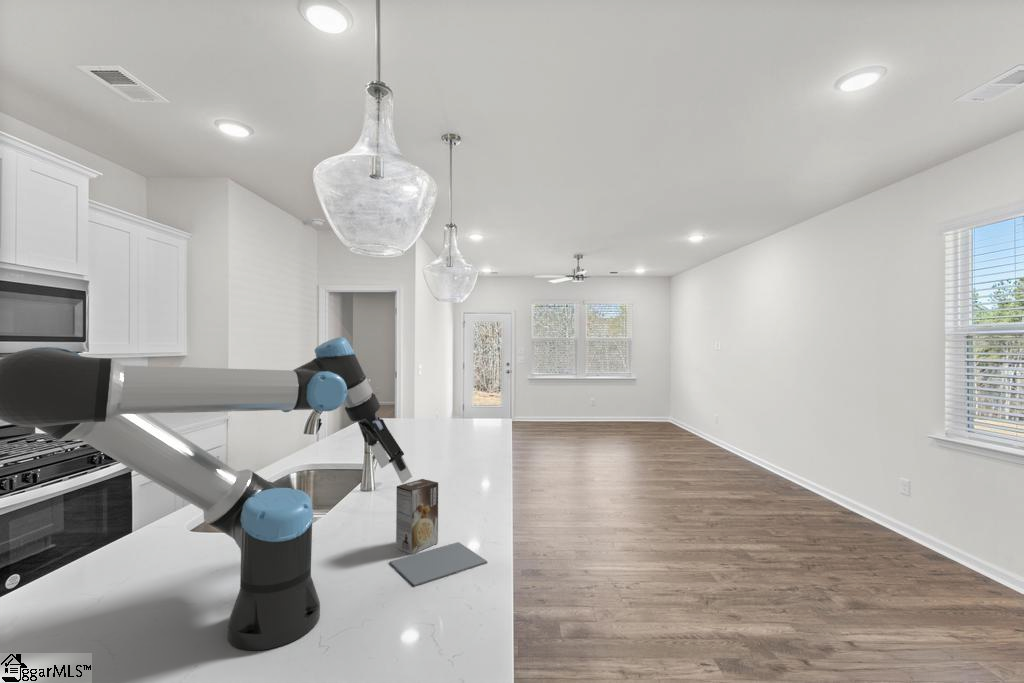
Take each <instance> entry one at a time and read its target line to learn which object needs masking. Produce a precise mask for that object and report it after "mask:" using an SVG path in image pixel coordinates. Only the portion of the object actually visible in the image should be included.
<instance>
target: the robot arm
mask: <svg viewBox="0 0 1024 683" xmlns="http://www.w3.org/2000/svg"><path fill="white" fill-rule="evenodd" d="M350 344H351V343H349V341H348V339H347V338H345V337H342V336H341V337H335V338H331V339H330V340H327V341H325V342H323V343H321V344H319V345H318V346H316V347H315V348H314V353H315V358H313V359H312V360H311V361H309V362H306V363H305V364H303V365H300V366H299V367H296V368H295V369H292V370H287V369H286V370H284V369H281V370H280V369H257V368H256V369H254V368H253V369H252V368H251V369H250V368H222V367H221V368H220V367H189V366H187V367H186V366H185V367H184V366H182V367H181V366H160V365H159V366H152V365H150V366H149V365H124V364H121V362H119V361H117V360H116V359H115V358H113V357H111V358H110V357H109V358H108V357H104V358H103V357H90V356H84V355H81V354H79V353H77V352H75V351H71V350H70V349H67V348H61V347H56V346H55V347H53V346H40V347H39V346H38V347H31V348H30V349H29V348H28V349H23V350H18V351H15V352H13V353H10V354H8V355H6V356H4V357H2V358H0V421H3V422H5V423H8V424H11V425H14V426H19V427H24V428H25V427H26V428H37V429H38V430H39V431H41V432H44V433H45V434H46V435H48V436H51V437H53V438H54V439H56V440H57V441H60V442H62V441H63V442H64V441H70V440H80V441H82V442H83V443H85V444H87V445H89V446H90V447H92V448H94V449H95V450H97V451H99V452H101V453H103V454H104V455H106V456H108V457H109V458H112V459H113V460H115V461H117V462H118V463H120V464H122V465H124V466H125V467H127V468H129V469H131V470H132V471H134V472H136V473H137V474H140V475H141V476H143V477H144V478H146V479H148V480H149V481H151V482H153V483H155V484H157V485H158V486H160V487H162V488H163V489H165V490H167V491H169V492H171V493H172V494H174V495H176V496H178V497H179V498H181V499H183V500H185V501H186V502H188V503H190V504H191V505H193V506H195V507H196V508H199V509H200V510H202V512H203V522H205V523H206V524H207V525H210V526H211V527H213V528H214V529H216V530H218V531H220V532H222V533H224V535H227V536H229V537H230V538H232V539H233V540H234V541H235V543H236V544H237V547H238V548H239V550H240V581H239V583H240V584H239V585H240V587H239V592H238V593H237V596H236V599H235V602H234V604H233V607H232V610H231V613H230V617H229V618H228V621H227V636H226V637H227V640H228V642H229V644H230V645H232V646H233V647H235V648H237V649H239V650H244V651H245V650H246V651H262V650H269V649H272V648H273V649H274V648H278V647H282V646H285V645H287V644H290V643H291V642H295V641H297V640H299V639H300V638H302V637H304V636H306V635H307V634H308V633H309V632H311V630H312V629H314V628H315V627H316V625H317V624H318V622H319V620H320V617H321V602H320V599H319V595H318V592H317V590H316V587H315V583H314V580H313V578H312V547H313V546H312V545H313V544H312V541H313V520H314V509H313V503H312V499H311V497H310V496H309V494H308V493H306V492H305V491H303V490H301V489H299V488H296V489H293V488H291V487H279V486H278V484H275V483H274V482H272V481H269V480H267V479H265V478H264V477H262V476H260V475H258V474H257V473H255V472H254V471H252V470H251V469H243V470H236V469H234V468H232V467H231V466H229V465H227V464H226V463H225V462H223V461H222V460H220V459H218V458H217V457H215V456H214V455H212V454H211V453H209V452H208V451H206V450H204V449H203V448H202V447H200V446H198V445H197V444H195V443H194V442H192V441H190V440H189V439H187V438H185V436H183V435H182V434H180V433H178V432H177V431H175V430H173V429H172V428H171V427H169V426H168V425H166V424H164V423H163V422H161V421H159V420H158V419H156V418H155V417H154V416H152V415H151V414H156V415H157V414H181V413H182V414H186V413H187V414H189V413H191V414H192V413H223V412H224V413H225V412H258V411H260V412H262V411H281V412H283V413H289V412H292V411H293V410H294V411H305V410H306V411H309V410H310V411H311V410H312V411H313V410H314V411H317V412H321V413H322V412H332V411H334V410H335V411H336V410H337V409H338V408H340V407H341V406H343V407H344V411H345V413H346V414H347V416H348V418H349V420H350V421H351V422H355V423H356V422H357V424H358V427H359V430H360V431H361V434H362V438H363V440H364V442H365V443H367V445H368V447H369V448H370V450H371V452H372V453H373V455H374V457H375V460H376V461H377V463H378V466H379V467H380V469H384V468H385V467H386V466H388V465H390V464H391V465H392V467H393V469H394V471H395V473H396V475H397V477H398V479H399V480H400V482H401V484H405V482H407V481H408V480H410V479H411V478H413V475H412V473H411V471H410V469H409V468H408V465H407V463H406V460H405V459H404V458H403V456H404V455H405V452H404V451H403V450H402V449H401V447H400V445H399V444H398V442H397V440H396V439H395V438H394V436H393V434H392V432H390V430H389V429H388V427H387V425H386V423H385V421H384V419H382V418H380V417H379V416H377V415H376V414H377V412H378V411H379V410H380V408H381V404H380V402H379V400H378V398H377V396H376V394H375V393H373V389H372V387H371V379H370V378H367V377H366V374H365V372H364V371H363V368H362V366H361V364H360V362H359V360H358V357H357V356H356V353H355V351H354V350H353V348H352V346H351V345H350Z"/></svg>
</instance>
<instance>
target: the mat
mask: <svg viewBox="0 0 1024 683" xmlns="http://www.w3.org/2000/svg"><path fill="white" fill-rule="evenodd" d="M389 564H390V565H391V564H392V565H393V566H392V565H391V566H392V567H393V568H394V569H395V570H396V569H397V570H396V571H397V572H399V574H401V576H403V577H404V578H405V580H406V581H407V582H409V583H410V584H411V585H412V586H413V587H418V586H420V585H421V586H422V585H423V584H427V583H430V582H434V581H437V580H439V579H442V578H445V577H448V576H451V575H455V574H458V573H460V572H465V571H466V570H470V569H473V568H476V567H478V566H483V565H486V564H488V560H486V559H484V558H483V557H482V556H480V555H478V553H475V552H474V551H473V550H471V549H470V548H468V546H465V545H464V544H462V543H461V542H459V541H457V542H454V543H450V544H446V545H443V546H440V547H436V548H432V549H429V550H428V549H427V550H425V551H420V552H417V553H414V554H412V555H411V554H409V555H407V556H404V557H400V558H397V559H393V560H390V561H389Z"/></svg>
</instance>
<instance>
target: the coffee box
mask: <svg viewBox="0 0 1024 683" xmlns="http://www.w3.org/2000/svg"><path fill="white" fill-rule="evenodd" d="M395 509H396V510H395V511H396V516H395V517H396V519H395V520H396V521H395V522H396V523H395V524H396V525H395V528H396V529H395V530H396V531H395V533H396V534H395V536H396V537H395V547H396V549H397V550H400V551H402V552H404V553H407V554H408V555H414V554H418V553H420V552H422V551H424V550H425V549H428V548H430V547H432V546H434V545H436V544H438V543H439V482H438V481H435V480H434V481H433V480H430V479H425V478H420V479H417V480H413V481H411V482H407V483H402V484H400V485H396V508H395Z"/></svg>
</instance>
